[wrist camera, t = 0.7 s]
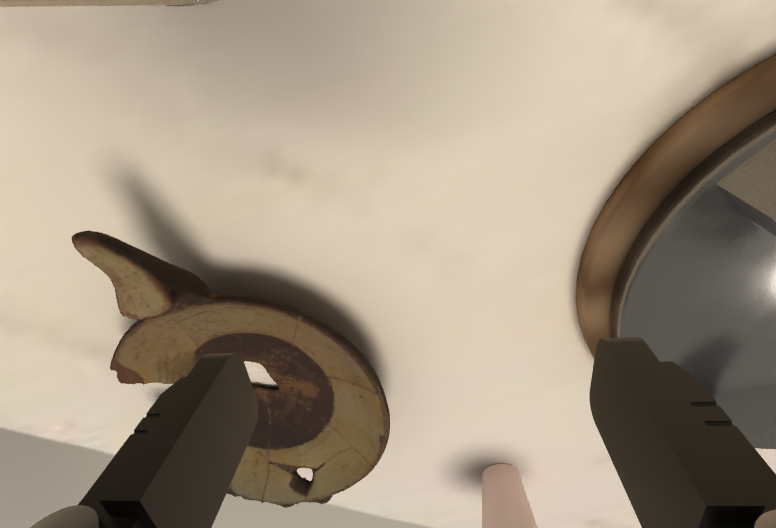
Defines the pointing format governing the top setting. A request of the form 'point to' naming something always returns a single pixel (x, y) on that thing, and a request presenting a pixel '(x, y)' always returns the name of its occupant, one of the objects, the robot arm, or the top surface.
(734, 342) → the lathe chuck plate
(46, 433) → the top surface
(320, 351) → the oil lamp
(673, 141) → the brown round board
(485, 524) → the smoothie
